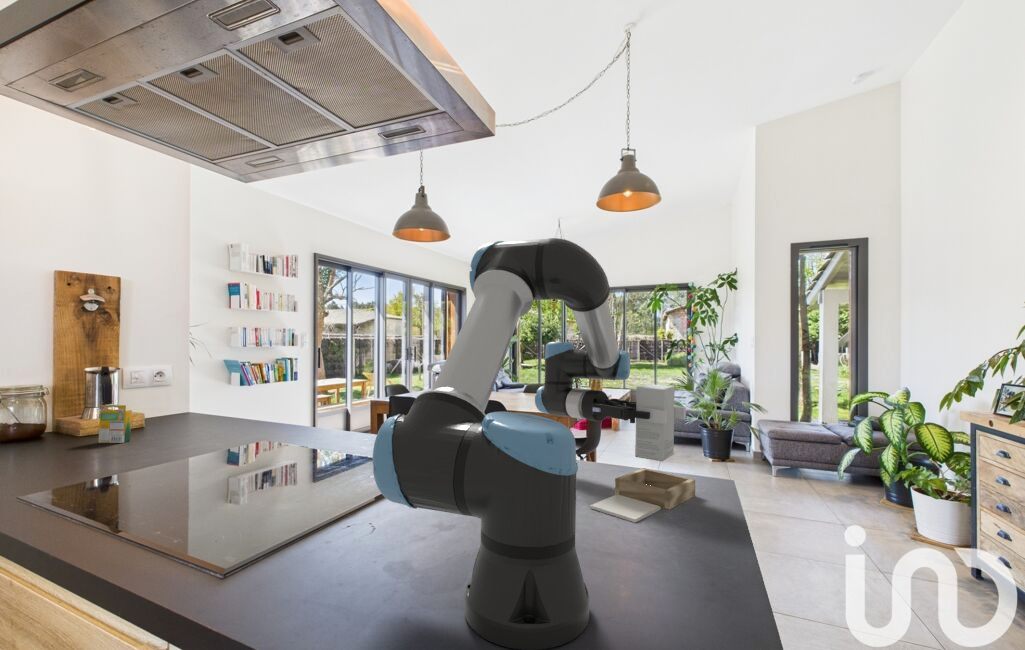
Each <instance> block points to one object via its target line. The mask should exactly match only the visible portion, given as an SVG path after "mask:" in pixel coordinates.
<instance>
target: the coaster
mask: <svg viewBox="0 0 1025 650" xmlns="http://www.w3.org/2000/svg"><path fill="white" fill-rule="evenodd" d="M589 507H590V509H592V510H594V511H597V512H599V513H600V512H601V513H604V514H606V515H610V516H613V517H616V518H620V519H623V520H625V521H629V522H632V523H638V522H639V521H641V520H643V519H646V518H647V517H649V516H651V515H653V514H655V513H657V512H658V511H660V510H662V509H661V508H662V507H661V506H657V505H654V504H650V503H647V502H643V501H639V500H636V499H632V498H629V497H625V496H621V495H618V494H617V495H615V494H614V495H612V496H609V497H607V498H605V499H603V500H600V501H598V502H595V503H593V504H590V506H589Z"/></svg>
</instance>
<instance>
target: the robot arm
mask: <svg viewBox="0 0 1025 650" xmlns="http://www.w3.org/2000/svg"><path fill="white" fill-rule="evenodd" d="M470 261H471V262H470V270H469V274H468V275H469V276H468V277H469V286H470V287H471V288H470V289H471V291H472V293H473V296H474V298H475V299H474V302H473V304H472V306H471V307H470V310H469V311H468V313H467V316H466V318H465V320H464V321H463V324H462V326H461V328H460V330H459V333H458V335H457V336H456V339H455V340H454V343H453V345H452V347H451V349H450V350H449V353H448V355H447V357H446V359H445V361H444V364H443V366H442V368H441V370H440V371H439V374H438V376H437V378H436V379H435V381H434V384H433V385H432V388H431V390H426V391H424V392H421V393H419V395H417V396H416V398H415V399H414V401H413V403H412V405H411V407H410V409H409V411H408V413H407V414H406V415H405V414H401V413H398V414H396V415H393V416H390V417H388V418H387V419H386V420H385V421H384V422H383V423H382V424H381V425H380V428H379V429H378V432H377V435H376V437H375V440H374V445H373V449H372V459H371V460H372V465H373V468H372V469H373V470H372V472H373V473H372V474H373V477H374V483H375V484H376V487H377V489H378V491H379V492H380V493H381V495H382V496H383V497H384V498H385V499H387V500H388V501H389V502H391V503H395V504H399V505H404V506H407V507H409V508H411V509H425V510H431V511H436V512H437V511H438V512H443V513H450V514H454V515H461V516H467V517H474V518H478V519H480V545H479V549H478V552H477V555H476V558H475V561H474V564H473V568H472V573H471V577H470V578H469V580H468V582H467V584H466V587H465V593H464V594H465V595H464V617H465V619H466V620H465V621H466V622H467V623H468V625H469V627H470V628H471V629H472V630H473V631H474V632H475V633H476V634H477V635H479V636H480V637H482V638H483V639H484V640H487V641H488V642H490V643H493V644H495V645H499V646H501V647H506V648H510V649H514V650H546V649H551V648H555V647H560V646H562V645H565V644H567V643H569V642H571V641H574V639H576V638H578V637H579V636H581V634H582V633H584V631H585V630H586V628H587V626H588V624H589V621H590V595H589V591H588V588H587V585H586V583H585V582H584V581H585V580H584V577H583V576H584V575H583V572H582V569H581V564H580V560H579V558H578V553H577V548H576V526H577V524H576V523H577V522H576V516H577V512H576V511H577V472H578V470H579V466H578V465H579V464H578V462H577V451H576V449H577V447H576V446H577V444H576V439H575V435H574V433H573V432H572V430H571V429H570V428H569V427H568V426H566V425H565V424H564V423H561V422H559V421H558V420H554V419H551V418H549V417H545V416H541V415H536V414H530V413H525V412H511V411H493V412H489V413H487V414H486V413H485V411H486V408H487V406H488V403H489V401H490V398H491V395H492V392H493V389H494V387H495V383H496V381H497V379H498V376H499V373H500V371H501V368H502V364H503V362H504V359H505V357H506V354H507V351H508V349H509V345H510V343H511V341H512V337H513V336H514V332H515V330H516V327H517V324H518V321H519V319H520V318H522V317H523V316H525V315H526V314H528V313H529V312H530V311H531V309H532V306H533V304H534V301H539V300H540V301H545V300H550V301H551V300H560V301H562V302H563V304H564V305H565V306H566V307H567V308H568V309H569V310H571V311H572V315H573V317H574V320H575V322H576V325H577V328H578V330H579V334H580V336H581V339H582V342H583V344H584V348H585V349H579V348H578V349H576V348H575V347H574V343H573V342H571V341H570V342H568V341H567V342H565V341H564V342H563V341H549V342H548V343H546V345H545V353H544V358H543V359H544V383H543V385H541V386H540V387H539V388H538V389H537V390H536V394H535V396H534V404H535V406H536V409H537V410H538V411H539V412H540V413H544V414H547V415H551V416H557V417H563V418H564V417H566V418H570V419H571V418H573V419H576V421H577V422H581V420H587V421H591V422H592V421H593V422H596V423H597V422H599V423H600V422H602V421H604V420H606V418H612V419H618V420H622V421H629V423H630V424H636V420H639V421H646V422H654V423H661V424H666V419H667V411H666V410H657V409H648V408H639V407H637V411H636V401H630V400H625V399H623V400H622V399H618V398H610V399H609V397H608V394H607V393H606V392H604V391H603V390H595V389H589V388H586V389H585V388H577V387H576V388H575V387H574V388H573V384H574V379H583V380H584V379H586V380H604V381H605V380H608V381H625V380H628V379H629V377H630V374H631V373H630V372H631V356H630V353H629V352H628V351H627V350H621V349H619V345H618V341H617V337H616V333H615V329H614V324H613V321H612V317H611V316H612V315H611V312H610V311H611V310H610V307H609V302H608V299H609V297H610V292H611V290H610V285H609V279H608V276H607V274H606V272H605V271H604V269H603V267H602V266H601V264H600V263H599V261H598V260H597V259H596V258H595V257H594V256H593V255H592V254H591V253H590V252H589V251H588V250H586V249H585V248H584V247H582V246H580V245H579V244H577V243H575V242H572V241H570V240H568V239H565V238H557V237H554V238H553V237H552V238H542V239H540V238H539V239H530V240H527V239H526V240H512V241H510V240H509V241H507V240H506V241H503V240H498V241H494V242H488V243H486V244H483V245H481V246H480V247H479V248H478V249H477V250H476V251H475V252H474V254H473V256H472V259H471V260H470ZM686 411H687V408H686V407H685V406H676V405H674V420H683V421H686V419H687V412H686Z"/></svg>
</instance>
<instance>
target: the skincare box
mask: <svg viewBox="0 0 1025 650" xmlns="http://www.w3.org/2000/svg"><path fill="white" fill-rule="evenodd" d="M675 388H676V387H675V386H674V385H670V384H669V385H665V384H653V383H651V384H650V383H647V384H643V385H639V386H638V385H637V386H636V397H635V398H636V400H635V402H636V411H637V407H639V408H648V409H657V410H666V411H667V419H666V424H661V423H654V422H646V421H639V420H636V419H635V445H634V446H635V447H634V449H635V450H634V453H635V455H634V456H635V458H639V459H645V460H651V461H658V462H664V461H666V460H667V459H668V458H670V457H672V456H673V455H675V454H674V453H675V452H674V447H675V446H674V440H675V419H674V406H675Z"/></svg>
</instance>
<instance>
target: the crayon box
mask: <svg viewBox="0 0 1025 650" xmlns="http://www.w3.org/2000/svg"><path fill="white" fill-rule="evenodd" d="M109 408H110V409H109ZM111 408H118V409H114V410H113V409H111ZM132 412H133V411H132V409H130V410H129V409H127V405H126V404H125V405H124V404H123V405H122V404H121V405H118V404H117V405H115V404H113V405H102V404H101V405H100V413H99V423H98V424H99V425H98V426H99V427H98V428H99V429H98V441H97V442H98V444H116V443H117V444H118V443H119V444H124V443H128V442H130V441H131V431H132V415H133V413H132Z"/></svg>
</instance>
